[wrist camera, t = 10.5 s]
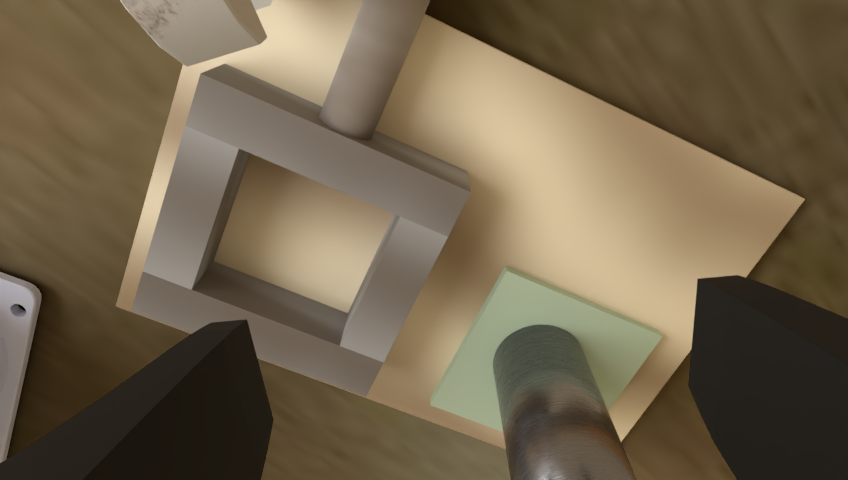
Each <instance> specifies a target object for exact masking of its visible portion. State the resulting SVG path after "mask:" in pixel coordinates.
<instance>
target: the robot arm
mask: <svg viewBox="0 0 848 480" xmlns="http://www.w3.org/2000/svg"><path fill="white" fill-rule="evenodd" d="M18 304H20V305H21V306H23V307H24V308H25V310H26V311H24V310H22V309H20V307H19V306H18ZM40 304H41V293H40V291H39V289H38V288H37V287H36V286H35V285H33V284H31V283H29V282H27V281H24V280H21V279H18V278H16V277H13V276H10V275H7V274H5V273H2V272H0V480H261V477H262V472H263V468H264V463H265V459H266V454H267V450H268V445H269V439H270V434H271V429H272V424H273V416H272V412H271V409H270V405H269V401H268V397H267V393H266V390H265V386H264V382H263V378H262V374H261V371H260V367H259V363H258V359H257V355H256V352H255V348H254V344H253V340H252V336H251V333H250V329H249V325H248V321H247V319H245V320H234V321H223V322H212V323H209V324H207V325H206V326H204V327H202V328H200V329H199V330H197V331H195V332H194V333H192V334H191V335H189V336H188V337H186V338H185V339H183V340H182V341H181V342H179V343H178V344H176V345H175V346H173V347H172V348H171V349H169V350H168V351H166V352H165V353H164V354H162V355H161V356H159V357H158V358H157V359H155V360H154V361H152V362H151V363H150V364H148V365H147V366H146V367H144V368H143V369H141V370H140V371H139V372H137V373H136V374H134V375H133V376H132V377H130V378H129V379H127V380H126V381H125V382H123V383H122V384H120V385H119V386H118V387H116V388H115V389H113V390H112V391H111V392H109V393H108V394H106V395H105V396H103V397H102V398H100V399H99V400H97V401H96V402H94V403H93V404H91V405H90V406H88V407H87V408H85V409H84V410H82V411H81V412H79V413H78V414H76V415H75V416H73V417H72V418H70V419H69V420H67V421H66V422H64V423H63V424H61V425H60V426H58V427H57V428H55V429H54V430H53V431H51V432H50V433H48V434H47V435H45V436H44V437H42V438H41V439H39V440H37V441H36V442H34V443H33V444H31V445H29V446H28V447H26V448H25V449H23V450H21V451H20V452H18V453H16V454H15V455H13V456H11V457H10V458H8V459H6V458H7V454H8V449H9V445H10V440H11V436H12V431H13V426H14V422H15V417H16V413H17V408H18V404H19V399H20V395H21V390H22V386H23V381H24V376H25V372H26V367H27V363H28V358H29V354H30V349H31V345H32V340H33V336H34V331H35V327H36V322H37V317H38V313H39V308H40ZM688 386H689V388H690V391H691V393H692V395H693V397H694V400H695V402H696V404H697V407H698V409H699V411H700V414H701V416H702V418H703V420H704V422H705V424H706V426H707V429H708V431H709V433H710V435H711V437H712V439H713V441H714V443H715V445H716V446H717V448H718V450H719V451H720V453H721V455H722V456H723V458H724V459H725V461H726V463H727V464H728V466H729V467H730V469H731V471H732V472H733V474H734V476H735V477H736V479H737V480H848V319H847V318H845V317H842V316H840V315H838V314H835V313H833V312H830V311H828V310H826V309H823V308H821V307H819V306H816V305H814V304H812V303H809V302H807V301H805V300H802V299H800V298H797V297H795V296H793V295H790V294H788V293H786V292H783V291H781V290H778V289H776V288H773V287H771V286H768V285H766V284H763V283H760V282H758V281H755V280H752V279H749V278H746V277H742V276H739V275H733V276H722V277H711V278H700V279H698V280H697V292H696V303H695V315H694V327H693V338H692V350H691V361H690V373H689V384H688Z"/></svg>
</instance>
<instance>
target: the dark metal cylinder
mask: <svg viewBox="0 0 848 480" xmlns="http://www.w3.org/2000/svg"><path fill="white" fill-rule="evenodd" d="M493 372H494V378H495V384H496V391H497V397H498V403H499V409H500V415H501V421H502V428H503V434H504V440H505V446H506V452H507V458H508V465H509V471H510V477H511V480H636V477H635V475H634V473H633V470H632V468H631V465H630V463H629V460H628V458H627V456H626V453H625V451H624V448H623V446H622V443H621V441H620V439H619V436H618V434H617V431H616V429H615V426H614V424H613V422H612V419H611V417H610V414H609V412H608V410H607V407H606V405H605V402H604V400H603V397H602V395H601V393H600V390H599V388H598V385H597V383H596V380H595V378H594V376H593V373H592V371H591V368H590V366H589V364H588V361H587V359H586V356H585V354H584V351H583V349H582V347H581V345H580V343H579V342H578V340H577V339H576V338H575V337H574V336H573V335H572V334H571V333H569V332H568V331H566V330H564V329H562V328H559V327H556V326H552V325H543V324H541V325H531V326H527V327H524V328H521V329H519V330H517V331H515V332H513V333H512V334H510V335H509V336H507V337H506V338H505V339H504V340H503V341H502V342H501V344H500V345H499V347H498V348H497V350H496V352H495V355H494V358H493Z"/></svg>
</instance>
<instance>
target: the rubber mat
mask: <svg viewBox="0 0 848 480" xmlns="http://www.w3.org/2000/svg"><path fill="white" fill-rule="evenodd" d="M541 324H543V325H552V326H556V327H559V328H562V329H564V330H566V331H568V332H569V333H571V334H572V335H573V336H574V337H575V338H576V339H577V340H578V342H579V343H580V345H581V347H582V349H583V351H584V354H585V356H586V359H587V361H588V364H589V366H590V368H591V371H592V373H593V376H594V378H595V380H596V383H597V385H598V388H599V390H600V393H601V395H602V397H603V400H604V402H605V405H606V407H607V410H608V411H609V409H610V408H611V407H612V405H613V404H614V403H615V401H616V400H617V398H618V397H619V396H620V394H621V393H622V392H623V390H624V389H625V387H626V386H627V385H628V383H629V382H630V381H631V379H632V378H633V376H634V375H635V374H636V372H637V371H638V369H639V368H640V367H641V365H642V364H643V363H644V361H645V360H646V358H647V357H648V356H649V354H650V353H651V352H652V350H653V349H654V347H655V346H656V345H657V343H658V342H659V341H660V339H661V338H662V335H661V333H660V332H659V330H657V329H655V328H652V327H650V326H648V325H645V324H643V323H640V322H638V321H636V320H633V319H631V318H629V317H626V316H624V315H622V314H619V313H617V312H614V311H612V310H610V309H607V308H605V307H603V306H600V305H598V304H595V303H593V302H591V301H588V300H586V299H584V298H581V297H579V296H576V295H574V294H572V293H569V292H567V291H565V290H562V289H560V288H557V287H555V286H553V285H550V284H548V283H546V282H543V281H541V280H538V279H536V278H534V277H531V276H529V275H527V274H524V273H522V272H520V271H517V270H515V269H512V268H510V267H508V266H505V267H504V269H503V271H502V273H501V274H500V276H499V278H498V280H497V281H496V283H495V285H494V287H493V288H492V290H491V292H490V294H489V295H488V297H487V299H486V301H485V302H484V304H483V306H482V308H481V310H480V311H479V313H478V315H477V317H476V318H475V320H474V322H473V324H472V325H471V327H470V329H469V331H468V332H467V334H466V336H465V338H464V339H463V341H462V343H461V345H460V347H459V348H458V350H457V352H456V354H455V355H454V357H453V359H452V361H451V362H450V364H449V366H448V368H447V369H446V371H445V373H444V375H443V376H442V378H441V380H440V382H439V383H438V385H437V387H436V389H435V391H434V392H433V394H432V396H431V398H430V405H431V406H434V407H437V408H439V409H442V410H445V411H447V412H450V413H453V414H455V415H458V416H461V417H463V418H466V419H469V420H472V421H474V422H477V423H480V424H482V425H485V426H488V427H490V428H493V429H496V430H498V431H501V432H503V428H502V421H501V415H500V409H499V403H498V397H497V391H496V384H495V378H494V372H493V358H494V355H495V352H496V350H497V348H498V347H499V345H500V344H501V342H502V341H503V340H504V339H505V338H506V337H507V336H509V335H510V334H512V333H513V332H515V331H517V330H519V329H521V328H524V327H527V326H531V325H541Z"/></svg>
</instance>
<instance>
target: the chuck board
mask: <svg viewBox="0 0 848 480" xmlns="http://www.w3.org/2000/svg"><path fill="white" fill-rule="evenodd" d="M429 2H430V0H273V1H272V3H271V5H270V6H267V7H264V8H261V9H258V10H256V13H257V15H258V17H259V19H260V22H261V24H262V26H263V28H264V30H265V33H266V35H267V38H266V40H265V41H263V42H262V43H261V44H259V45H256V46H253V47H250V48H247V49H243V50H240V51H237V52H234V53H230V54H227V55H224V56H221V57H217V58H214V59H211V60H208V61H204V62H201V63H198V64H195V65H191V66H188V67H187V66H185V65H184V64H183V67H182V70H181V74H180V77H179V81H178V85H177V88H176V92H175V95H174V99H173V102H172V106H171V110H170V113H169V117H168V120H167V124H166V128H165V131H164V135H163V138H162V142H161V145H160V149H159V153H158V156H157V160H156V163H155V167H154V170H153V174H152V178H151V181H150V185H149V188H148V192H147V196H146V199H145V203H144V206H143V210H142V213H141V217H140V221H139V224H138V228H137V231H136V235H135V238H134V242H133V246H132V249H131V253H130V256H129V260H128V263H127V267H126V271H125V274H124V278H123V281H122V285H121V289H120V292H119V296H118V299H117V303H116V307H119V308H121V309H124V310H127V311H130V312H132V313H135V314H138V315H141V316H143V317H146V318H149V319H151V320H154V321H157V322H160V323H162V324H165V325H168V326H171V327H173V328H176V329H179V330H181V331H184V332H187V333H190V334H192V333H194V332H195V331H197V330H199V329H200V328H202V327H204V326H206V325H207V324H209V323H212V322H223V321H234V320H245V319H247V321H248V325H249V329H250V333H251V336H252V340H253V344H254V348H255V352H256V355H257V358H258V359H261V360H263V361H266V362H269V363H272V364H274V365H277V366H280V367H282V368H285V369H288V370H291V371H293V372H296V373H299V374H302V375H304V376H307V377H310V378H312V379H315V380H318V381H321V382H323V383H326V384H329V385H332V386H334V387H337V388H340V389H342V390H345V391H348V392H351V393H353V394H356V395H359V396H362V397H364V398H367V399H370V400H373V401H375V402H378V403H381V404H383V405H386V406H389V407H392V408H394V409H397V410H400V411H403V412H405V413H408V414H411V415H413V416H416V417H419V418H422V419H424V420H427V421H430V422H433V423H435V424H438V425H441V426H443V427H446V428H449V429H452V430H454V431H457V432H460V433H463V434H465V435H468V436H471V437H473V438H476V439H479V440H482V441H484V442H487V443H490V444H493V445H495V446H498V447H501V448H504V449H506V446H505V440H504V434H503V432H501V431H498V430H496V429H493V428H490V427H488V426H485V425H482V424H480V423H477V422H474V421H472V420H469V419H466V418H463V417H461V416H458V415H455V414H453V413H450V412H447V411H445V410H442V409H439V408H437V407H434V406H431V405H430V398H431V396H432V394H433V392H434V391H435V389H436V387H437V385H438V383H439V382H440V380H441V378H442V376H443V375H444V373H445V371H446V369H447V368H448V366H449V364H450V362H451V361H452V359H453V357H454V355H455V354H456V352H457V350H458V348H459V347H460V345H461V343H462V341H463V339H464V338H465V336H466V334H467V332H468V331H469V329H470V327H471V325H472V324H473V322H474V320H475V318H476V317H477V315H478V313H479V311H480V310H481V308H482V306H483V304H484V302H485V301H486V299H487V297H488V295H489V294H490V292H491V290H492V288H493V287H494V285H495V283H496V281H497V280H498V278H499V276H500V274H501V273H502V271H503V269H504V267H505V266H508V267H510V268H512V269H515V270H517V271H520V272H522V273H524V274H527V275H529V276H531V277H534V278H536V279H538V280H541V281H543V282H546V283H548V284H550V285H553V286H555V287H557V288H560V289H562V290H565V291H567V292H569V293H572V294H574V295H576V296H579V297H581V298H584V299H586V300H588V301H591V302H593V303H595V304H598V305H600V306H603V307H605V308H607V309H610V310H612V311H614V312H617V313H619V314H622V315H624V316H626V317H629V318H631V319H633V320H636V321H638V322H640V323H643V324H645V325H648V326H650V327H652V328H655V329H657V330H659V332H660V333H661V335H662V338H661V339H660V341H659V342H658V343H657V345H656V346H655V347H654V349H653V350H652V352H651V353H650V354H649V356H648V357H647V358H646V360H645V361H644V363H643V364H642V365H641V367H640V368H639V369H638V371H637V372H636V374H635V375H634V376H633V378H632V379H631V381H630V382H629V383H628V385H627V386H626V387H625V389H624V390H623V392H622V393H621V394H620V396H619V397H618V398H617V400H616V401H615V403H614V404H613V405H612V407H611V408H610V409H609V411H608V412H609V414H610V417H611V419H612V422H613V424H614V426H615V429H616V431H617V434H618V436H619V439H620V441H621V442H622V440H623V439H624V438H625V436H626V435H627V434H628V432H629V431H630V430H631V428H632V427H633V426H634V424H635V423H636V422H637V421H638V419H639V418H640V417H641V415H642V414H643V413H644V411H645V410H646V409H647V407H648V406H649V405H650V403H651V402H652V401H653V399H654V398H655V397H656V395H657V394H658V393H659V391H660V390H661V389H662V388H663V386H664V385H665V384H666V382H667V381H668V380H669V378H670V377H671V376H672V374H673V373H674V372H675V370H676V369H677V368H678V366H679V365H680V364H681V362H682V361H683V360H684V358H685V357H686V356H687V355H688V353H689V352H690V351H691V349H692V338H693V327H694V315H695V303H696V292H697V280H698V279H700V278H711V277H722V276H733V275H739V276H742V277H747V275H748V274H749V273H750V271H751V270H752V269H753V267H754V266H755V265H756V263H757V262H758V261H759V259H760V258H761V257H762V256H763V254H764V253H765V252H766V250H767V249H768V248H769V246H770V245H771V244H772V242H773V241H774V240H775V238H776V237H777V236H778V234H779V233H780V232H781V230H782V229H783V228H784V226H785V225H786V224H787V223H788V221H789V220H790V219H791V217H792V216H793V215H794V213H795V212H796V211H797V209H798V208H799V207H800V205H801V204H802V203H803V201H804V200H805V199H804V198H802V197H800V196H799V195H797V194H795V193H793V192H791V191H789V190H787V189H785V188H783V187H781V186H779V185H776V184H774V183H772V182H770V181H768V180H766V179H764V178H762V177H760V176H758V175H756V174H754V173H752V172H750V171H748V170H746V169H744V168H741V167H739V166H737V165H735V164H733V163H731V162H729V161H727V160H725V159H723V158H721V157H719V156H717V155H715V154H713V153H711V152H709V151H706V150H704V149H702V148H700V147H698V146H696V145H694V144H692V143H690V142H688V141H686V140H684V139H682V138H680V137H678V136H676V135H674V134H671V133H669V132H667V131H665V130H663V129H661V128H659V127H657V126H655V125H653V124H651V123H649V122H647V121H645V120H643V119H641V118H638V117H636V116H634V115H632V114H630V113H628V112H626V111H624V110H622V109H620V108H618V107H616V106H614V105H612V104H610V103H608V102H606V101H603V100H601V99H599V98H597V97H595V96H593V95H591V94H589V93H587V92H585V91H583V90H581V89H579V88H577V87H575V86H573V85H571V84H568V83H566V82H564V81H562V80H560V79H558V78H556V77H554V76H552V75H550V74H548V73H546V72H544V71H542V70H540V69H538V68H535V67H533V66H531V65H529V64H527V63H525V62H523V61H521V60H519V59H517V58H515V57H513V56H511V55H509V54H507V53H505V52H503V51H500V50H498V49H496V48H494V47H492V46H490V45H488V44H486V43H484V42H482V41H480V40H478V39H476V38H474V37H472V36H470V35H468V34H465V33H463V32H461V31H459V30H457V29H455V28H453V27H451V26H449V25H447V24H445V23H443V22H441V21H439V20H437V19H435V18H433V17H430V16H428V15H426V14H425V12H426V9H427V7H428V5H429Z"/></svg>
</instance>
